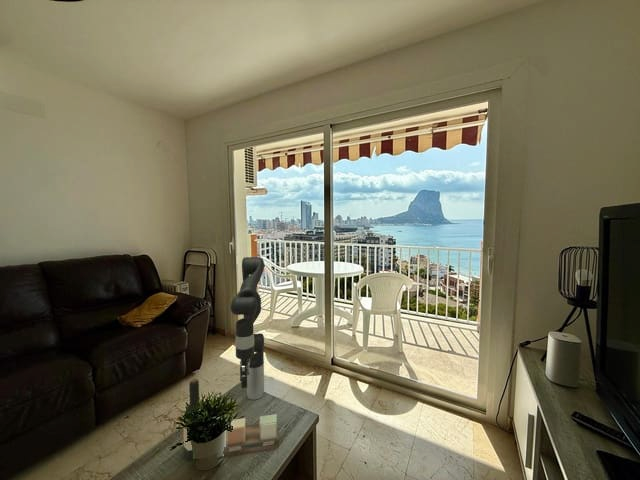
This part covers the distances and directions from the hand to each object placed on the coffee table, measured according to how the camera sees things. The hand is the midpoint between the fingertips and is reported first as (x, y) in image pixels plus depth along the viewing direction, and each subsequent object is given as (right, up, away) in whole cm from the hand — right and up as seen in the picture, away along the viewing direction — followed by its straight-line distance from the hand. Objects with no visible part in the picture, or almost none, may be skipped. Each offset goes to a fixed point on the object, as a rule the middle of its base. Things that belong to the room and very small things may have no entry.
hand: (245, 381), depth 106 cm
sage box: (+10, -24, +1) cm, 26 cm away
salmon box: (-3, -24, -2) cm, 25 cm away
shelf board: (+1, -26, +1) cm, 26 cm away
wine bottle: (-19, -27, -4) cm, 33 cm away
